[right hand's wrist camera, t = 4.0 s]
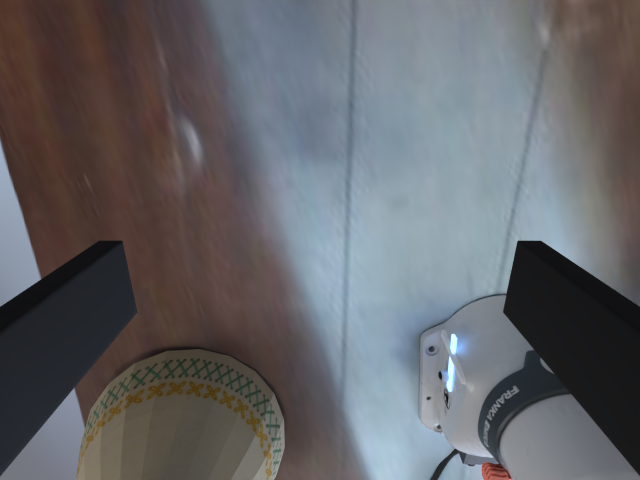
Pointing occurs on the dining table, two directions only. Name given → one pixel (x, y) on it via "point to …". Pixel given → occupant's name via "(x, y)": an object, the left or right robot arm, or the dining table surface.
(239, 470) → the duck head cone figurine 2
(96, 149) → the dining table surface
